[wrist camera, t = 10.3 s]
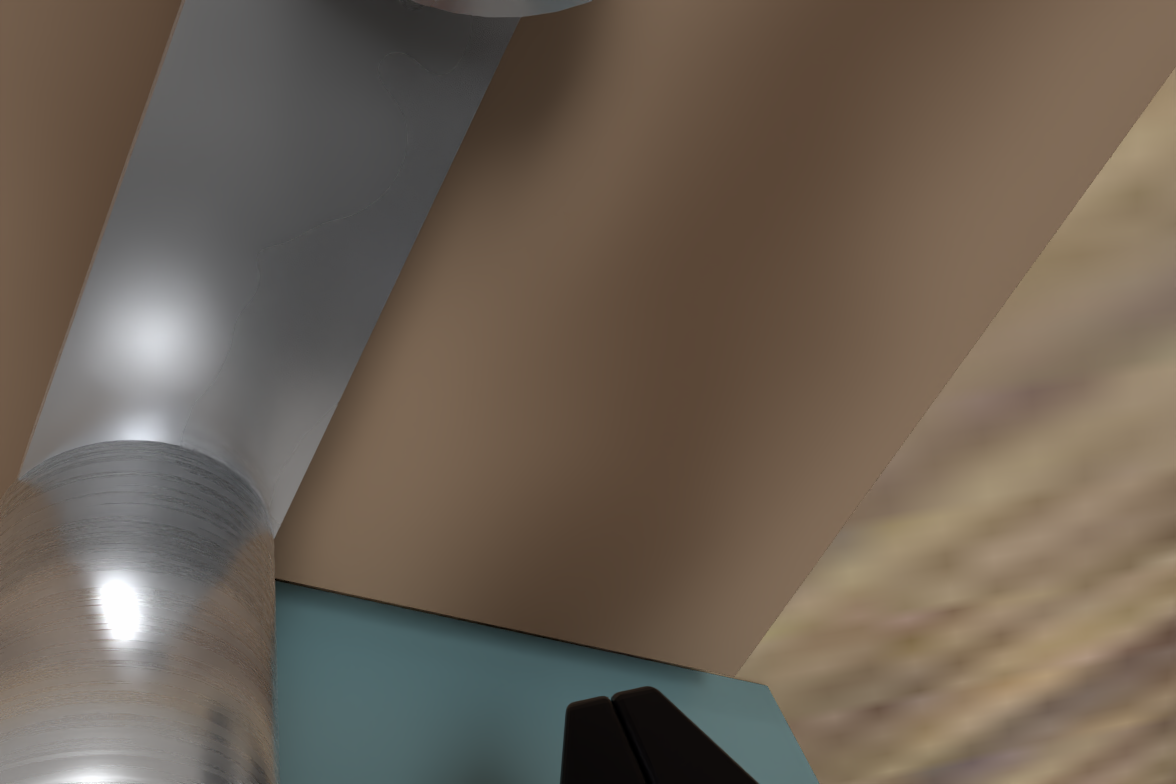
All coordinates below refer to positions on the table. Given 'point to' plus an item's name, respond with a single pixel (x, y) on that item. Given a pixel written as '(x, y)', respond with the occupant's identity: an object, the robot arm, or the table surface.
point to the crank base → (631, 287)
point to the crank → (218, 374)
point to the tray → (474, 699)
